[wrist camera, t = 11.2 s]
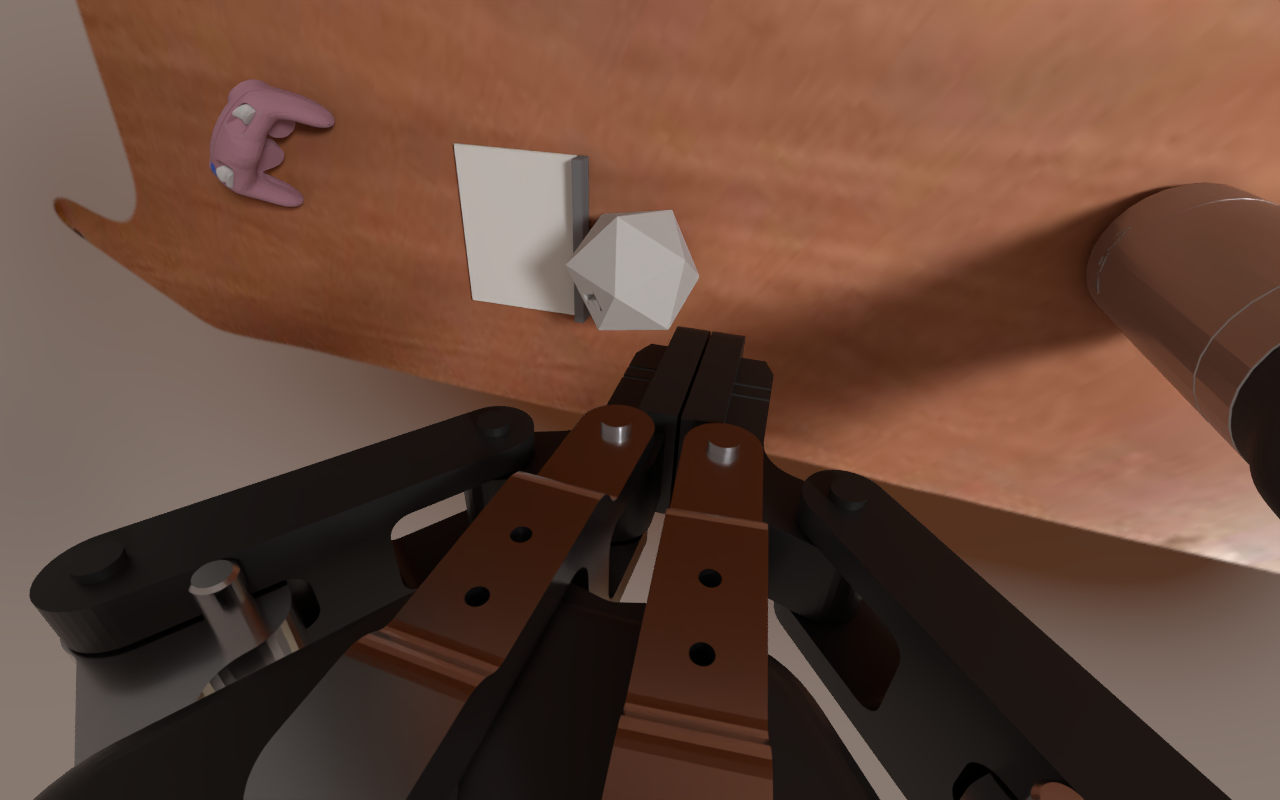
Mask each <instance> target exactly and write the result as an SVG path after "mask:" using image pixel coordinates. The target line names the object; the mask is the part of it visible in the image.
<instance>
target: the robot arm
mask: <svg viewBox="0 0 1280 800" xmlns="http://www.w3.org/2000/svg"><path fill="white" fill-rule="evenodd" d="M1086 281H1087V287H1088V291H1089V293H1090V295H1091V297H1092V299H1093V301H1094V302H1095V304H1096V305H1097V306H1098V307H1099V308H1100V309H1101V310H1102V311H1103V312H1104V313H1105V314H1106V315H1107V316H1108V317H1109V318H1110V319H1111V321H1112V322H1113V323H1114V324H1115V325H1116V326H1117V327H1118V328H1119V329H1120V331H1121V332H1122V333H1123V334H1124V335H1125V336H1126V337H1127V338H1128V339H1129V340H1130V341H1131V342H1132V343H1133V344H1134V345H1135V346H1136V347H1137V348H1138V350H1139V351H1140V352H1141V353H1142V354H1143V355H1144V356H1145V357H1146V358H1147V359H1148V360H1149V361H1150V362H1151V363H1152V364H1153V365H1154V366H1155V367H1156V368H1157V369H1158V370H1159V371H1160V373H1161V374H1162V375H1163V376H1164V377H1165V378H1166V379H1167V380H1168V381H1169V382H1170V383H1171V384H1172V385H1173V386H1174V387H1175V388H1176V389H1177V390H1178V391H1179V392H1180V393H1181V395H1182V396H1183V397H1184V398H1185V399H1186V400H1187V401H1188V402H1189V403H1190V404H1191V405H1192V406H1193V407H1194V408H1195V409H1196V410H1197V411H1198V412H1199V413H1200V414H1201V415H1202V416H1203V418H1204V419H1205V420H1206V421H1207V422H1209V423H1210V424H1211V425H1212V426H1213V428H1214V429H1215V430H1216V431H1217V432H1218V433H1219V434H1220V435H1221V436H1222V437H1223V438H1224V439H1225V440H1226V441H1227V442H1228V443H1229V444H1230V445H1231V446H1232V447H1233V448H1234V449H1235V451H1236V452H1237V453H1238V454H1239V455H1240V456H1241V457H1242V458H1243V459H1244V460H1245V461H1246V462H1247V463H1248V464H1249V465H1250V472H1251V476H1252V479H1253V482H1254V484H1255V486H1256V488H1257V490H1258V492H1259V493H1260V495H1261V496H1262V498H1263V499H1264V501H1265V502H1266V503H1267V504H1268V506H1269V507H1270V508H1271V509H1272V511H1273V512H1274V513H1275V514H1276V515H1277V516H1278V518H1279V519H1280V205H1277V204H1275V203H1272V202H1270V201H1267V200H1265V199H1263V198H1260V197H1258V196H1255V195H1253V194H1250V193H1248V192H1245V191H1243V190H1240V189H1237V188H1234V187H1231V186H1228V185H1225V184H1215V183H1195V184H1185V185H1181V186H1177V187H1173V188H1169V189H1165V190H1163V191H1160V192H1158V193H1156V194H1153V195H1151V196H1149V197H1146V198H1144V199H1143V200H1141V201H1139V202H1138V203H1136V204H1135V205H1133V206H1131V207H1130V208H1128V209H1127V210H1126V211H1124V212H1123V213H1122V214H1121V215H1120V216H1118V217H1117V218H1116V219H1115V220H1114V221H1112V223H1111V224H1110V225H1109V226H1108V227H1107V228H1106V229H1105V231H1104V232H1103V233H1102V234H1101V235H1100V237H1099V239H1098V240H1097V242H1096V244H1095V245H1094V247H1093V249H1092V251H1091V254H1090V257H1089V260H1088V263H1087V271H1086ZM744 344H745V336H740V335H734V334H727V333H721V332H714V331H713V332H712V334H711V332H710V331H707V330H700V329H693V328H687V327H680V326H678V327H677V329H676V331H675V333H674V335H673V337H672V339H671V341H670V343H669V345H668V346H663V345H656V344H650V345H649V346H647V347H645V348H644V349H642V350H640V351H639V352H637V353H636V354H635V356H634V358H633V360H632V361H631V363H630V365H629V367H628V368H627V370H626V372H625V374H624V377H622V379H621V381H620V383H619V384H618V386H617V388H616V390H615V391H614V393H613V395H612V397H611V398H610V400H609V402H608V404H607V405H605V406H600V407H597V408H594V409H592V410H590V411H588V412H587V413H585V414H584V415H583V416H582V417H581V418H580V420H579V421H578V422H577V424H576V425H575V426H574V427H573V429H572V430H568V431H549V432H534V423H533V420H532V418H531V417H530V416H529V415H528V414H527V413H526V412H524V411H522V410H519V409H517V408H513V407H506V406H493V407H486V408H482V409H478V410H475V411H472V412H469V413H466V414H463V415H460V416H457V417H454V418H451V419H448V420H445V421H442V422H439V423H436V424H432V425H429V426H426V427H423V428H420V429H417V430H415V431H411V432H408V433H405V434H402V435H399V436H396V437H393V438H391V439H387V440H384V441H381V442H378V443H375V444H372V445H369V446H366V447H363V448H360V449H357V450H354V451H351V452H348V453H345V454H342V455H339V456H336V457H333V458H330V459H327V460H324V461H321V462H318V463H315V464H312V465H309V466H306V467H303V468H300V469H297V470H294V471H291V472H288V473H285V474H282V475H279V476H276V477H273V478H270V479H267V480H264V481H261V482H258V483H255V484H252V485H249V486H246V487H243V488H240V489H237V490H234V491H231V492H228V493H225V494H222V495H219V496H216V497H212V498H209V499H207V500H203V501H201V502H197V503H194V504H191V505H189V506H185V507H183V508H179V509H176V510H173V511H170V512H167V513H164V514H161V515H158V516H155V517H152V518H149V519H146V520H143V521H140V522H137V523H134V524H131V525H128V526H125V527H122V528H119V529H116V530H113V531H110V532H107V533H104V534H101V535H98V536H96V537H93V538H90V539H88V540H86V541H83V542H81V543H79V544H77V545H75V546H73V547H72V548H70V549H68V550H67V551H65V552H63V553H62V554H60V555H59V556H58V557H56V558H55V559H54V560H52V561H51V562H50V563H49V564H48V565H47V566H45V567H44V568H43V570H42V571H41V572H40V573H39V574H38V575H37V577H36V578H35V580H34V581H33V583H32V586H31V588H30V599H31V602H32V603H33V604H34V605H35V607H36V608H37V609H38V611H39V612H40V613H41V614H42V616H43V617H44V618H45V619H46V621H47V622H48V623H49V624H50V626H51V627H52V628H53V630H54V631H55V632H56V633H57V635H58V636H59V637H60V642H61V645H62V647H63V649H64V650H65V651H66V652H67V654H68V655H69V656H70V657H71V659H72V660H73V661H74V663H75V664H76V666H77V667H76V717H75V721H76V722H75V767H74V768H72V769H70V770H69V771H68V772H66V773H65V774H64V775H63V776H61V777H60V778H59V779H57V780H56V781H55V782H53V783H52V784H51V785H49V786H48V787H47V788H46V789H45V790H44V791H42V792H41V793H40V794H39V795H38V796H37V797H36V798H35V799H34V800H880V799H879V797H878V796H877V794H876V793H875V791H874V789H873V788H872V786H871V785H870V783H869V782H868V780H867V779H866V777H865V776H864V774H863V772H862V771H861V770H860V768H859V766H858V765H857V763H856V762H855V760H854V759H853V757H852V755H851V754H850V752H849V751H848V749H847V748H846V746H845V745H844V743H843V742H842V740H841V739H840V737H839V735H838V734H837V732H836V731H835V729H834V728H833V726H832V725H831V723H830V722H829V720H828V718H827V717H826V715H825V714H824V712H823V711H822V709H821V708H820V706H819V705H818V704H817V702H816V701H815V699H814V698H813V696H812V695H811V694H810V693H809V692H808V691H807V689H806V688H805V687H804V686H803V684H802V683H801V682H800V681H799V680H798V679H797V678H796V677H795V676H794V675H793V674H792V673H791V672H790V671H789V670H788V669H787V668H786V667H785V666H783V665H782V664H781V663H780V662H778V661H777V660H776V659H775V658H773V657H772V656H770V655H769V654H768V598H769V599H771V600H773V601H774V609H775V614H776V616H777V618H778V620H779V622H780V623H781V625H782V626H783V628H784V629H785V630H786V632H787V633H788V635H789V636H790V637H791V639H792V640H793V641H794V643H795V644H796V646H797V647H798V649H799V650H800V651H801V653H802V654H803V655H804V657H805V658H806V660H807V661H808V662H809V664H810V665H811V667H812V668H813V669H814V671H815V672H816V674H817V675H818V676H819V678H820V679H821V680H822V682H823V683H824V685H825V686H826V687H827V689H828V690H829V692H830V693H831V694H832V696H833V697H834V699H835V700H836V701H837V703H838V704H839V705H840V707H841V708H842V710H843V711H844V712H845V714H846V715H847V717H848V718H849V719H850V721H851V722H852V724H853V725H854V726H855V728H856V729H857V731H858V732H859V733H860V735H861V736H862V737H863V739H864V740H865V742H866V743H867V744H868V746H869V747H870V749H871V750H872V751H873V753H874V754H875V756H876V757H877V758H878V760H879V761H880V762H881V764H882V765H883V767H884V768H885V769H886V771H887V772H888V773H889V775H890V776H891V778H892V779H893V781H894V782H895V783H896V785H897V786H898V788H899V789H900V790H901V792H902V793H903V795H904V796H905V797H906V799H907V800H1231V799H1230V798H1229V797H1228V796H1227V795H1226V794H1225V793H1224V792H1222V791H1221V790H1220V789H1219V788H1218V787H1217V786H1216V785H1215V784H1213V783H1212V782H1211V781H1210V780H1209V779H1208V778H1207V777H1206V776H1204V775H1203V774H1202V773H1201V772H1200V771H1199V770H1198V769H1197V768H1195V767H1194V766H1193V765H1192V764H1191V763H1190V762H1189V761H1188V760H1186V759H1185V758H1184V757H1183V756H1182V755H1181V754H1180V753H1179V752H1177V751H1176V750H1175V749H1174V748H1173V747H1172V746H1171V745H1169V743H1167V742H1166V741H1165V740H1164V739H1163V738H1162V737H1161V736H1160V735H1158V734H1157V733H1156V732H1155V731H1154V730H1153V729H1152V728H1151V727H1149V726H1148V725H1147V724H1146V723H1145V722H1144V721H1142V720H1141V719H1140V718H1139V717H1138V716H1137V715H1136V714H1135V713H1134V712H1133V711H1131V710H1130V709H1129V708H1128V707H1127V706H1126V705H1125V704H1123V703H1122V702H1121V701H1120V700H1119V699H1118V698H1117V697H1116V696H1115V695H1113V694H1112V693H1111V692H1110V691H1109V690H1108V689H1107V688H1106V687H1104V686H1103V685H1102V684H1101V683H1100V682H1099V681H1098V680H1097V679H1095V678H1094V677H1093V676H1092V675H1091V674H1090V673H1089V672H1088V671H1086V670H1085V669H1084V668H1083V667H1082V666H1081V665H1080V664H1079V663H1077V662H1076V661H1075V660H1074V659H1073V658H1072V657H1071V656H1069V655H1068V654H1067V653H1066V652H1065V651H1064V650H1063V649H1062V648H1060V647H1059V646H1058V645H1057V644H1056V643H1055V642H1054V641H1053V640H1052V639H1051V638H1049V637H1048V636H1047V635H1046V634H1045V633H1044V632H1043V631H1042V630H1040V629H1039V628H1038V627H1037V626H1036V625H1035V624H1034V623H1032V622H1031V621H1030V620H1029V619H1028V618H1027V617H1026V616H1025V615H1024V614H1022V613H1021V612H1020V611H1019V610H1018V609H1017V608H1016V607H1015V606H1013V605H1012V604H1011V603H1010V602H1009V601H1008V600H1007V599H1006V598H1004V597H1003V596H1002V595H1001V594H1000V593H999V592H998V591H996V590H995V589H994V588H993V587H992V586H991V585H990V584H989V583H987V582H986V581H985V580H984V579H983V578H982V577H981V576H980V575H979V574H977V573H976V572H975V571H974V570H973V569H972V568H971V567H970V566H968V565H967V564H966V563H965V562H964V561H963V560H962V559H960V557H958V556H957V555H956V554H955V553H954V552H953V551H952V550H950V549H949V548H948V547H947V546H946V545H945V544H944V543H943V542H941V541H940V540H939V539H938V538H937V537H936V536H935V535H934V534H933V533H931V532H930V531H929V530H928V529H927V528H926V527H925V526H923V525H922V524H921V523H920V522H919V521H918V520H917V519H916V518H914V517H913V516H912V515H911V514H910V513H909V512H908V511H907V510H905V509H904V508H903V507H902V506H901V505H900V504H899V503H898V502H897V501H895V500H894V499H893V498H892V497H891V496H890V495H889V494H887V493H886V492H885V491H884V490H883V489H882V488H881V487H879V486H878V485H877V484H876V483H874V482H873V481H871V480H869V479H867V478H865V477H863V476H861V475H858V474H855V473H852V472H848V471H842V470H824V471H820V472H817V473H814V474H812V475H811V476H809V477H808V478H807V479H806V480H805V481H803V480H801V479H799V478H796V477H794V476H791V475H790V474H787V473H786V472H784V471H782V470H781V469H779V468H778V467H777V466H775V465H774V464H773V463H772V462H771V461H770V459H769V458H768V457H767V455H766V453H765V451H764V436H765V429H766V422H767V416H768V409H769V401H770V395H771V388H772V381H773V373H772V372H771V370H770V368H769V367H768V365H767V364H766V362H764V361H758V360H752V359H745V358H742V357H743V351H744ZM462 492H464V494H465V500H466V506H467V510H465V511H463V512H461V513H458V514H456V515H453V516H451V517H449V518H446V519H444V520H442V521H439V522H437V523H434V524H432V525H430V526H427V527H425V528H423V529H420V530H418V531H416V532H413V533H411V534H409V535H406V536H404V537H401V538H399V539H396V540H391V532H392V529H393V527H394V526H395V524H396V523H397V522H398V521H399V520H400V519H401V518H403V517H404V516H406V515H408V514H410V513H412V512H414V511H417V510H420V509H422V508H425V507H427V506H430V505H432V504H435V503H437V502H439V501H442V500H444V499H447V498H449V497H452V496H454V495H457V494H459V493H462ZM655 512H658V513H663V514H665V518H664V522H663V528H662V532H661V537H660V542H659V546H658V551H657V556H656V560H655V565H654V570H653V574H652V579H651V584H650V589H649V593H648V598H647V603H623V602H622V603H621V602H620V600H621V598H622V595H623V593H624V591H625V589H626V586H627V584H628V582H629V580H630V578H631V576H632V573H633V571H634V569H635V567H636V565H637V562H638V560H639V558H640V556H641V554H642V551H643V549H644V547H645V545H646V542H647V534H648V528H649V526H650V524H651V522H652V519H653V516H654V513H655Z"/></svg>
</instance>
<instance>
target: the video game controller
mask: <svg viewBox="0 0 1280 800" xmlns="http://www.w3.org/2000/svg"><path fill="white" fill-rule="evenodd" d="M295 122H299V123H302V124H306V125H309V126H313V127H317V128H327V127H331V126H333V125H334V123H335V119H334V117H333V115H332V114H331V113H330V112H329V111H328V110H327V109H326V108H324V107H323V106H321V105H320V104H318V103H316V102H315V101H313V100H311V99H309V98H306V97H304V96H302V95H299V94H296V93H293V92H290V91H286V90H282V89H279V88H275V87H271V86H269V85H268V84H266V83H265V82H263V81H260V80H246V81H243V82H241V83H240V84H238V85H237V86H236V87H234V88H233V89H232V90H231V92H230V93H229V96H228V104H227V105H226V106H225V108H224V109H223V111H222V112H221V114H220V116H219V118H218V120H217V122H216V124H215V127H214V130H213V133H212V138H211V143H210V161H209V167H210V170H211V171H212V173H213V174H214V175H215V176H216V177H217V178H218V179H219V181H220V182H221V183H222V184H223V185H224V186H226V187H227V188H229V189H230V190H232V191H234V192H235V193H238V194H240V195H244V196H247V197H251V198H255V199H259V200H263V201H266V202H270V203H273V204H277V205H281V206H285V207H296V206H299V205H301V204H302V203H303V202H304V199H303V196H302V194H301V193H300V192H299V191H298V190H297V189H295V188H294V187H292V186H291V185H289V184H288V183H286V182H284V181H282V180H280V179H277V178H275V177H273V176H270V175H268V174H265V173H263V171H266V170H268V169H271V168H274V167H276V166H278V165H279V164H281V162H282V161H283V159H284V152H283V150H282V149H281V148H280V147H279V145H278V144H277V143H276V142H275V141H274V140H273V139H271V138H267V134H269V135H270V136H272V137H274V138H283V137H286V136H288V135H289V134H290V133H291V132H292V131H293V130H294V128H295V124H296V123H295Z"/></svg>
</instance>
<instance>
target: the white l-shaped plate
mask: <svg viewBox="0 0 1280 800" xmlns="http://www.w3.org/2000/svg"><path fill="white" fill-rule="evenodd" d="M454 150H455V158H456V167H457V175H458V183H459V191H460V200H461V208H462V216H463V224H464V233H465V241H466V249H467V257H468V265H469V274H470V282H471V290H472V298H473V300H478V301H485V302H492V303H498V304H505V305H511V306H518V307H524V308H531V309H538V310H544V311H551V312H557V313H564V314H570V315H575V322H580V323H584V322H585V321H586V319H587V318H588V317H589V310H588V308H587V306H586V304H585V302H584V300H583V298H582V296H581V294H580V292H579V290H578V289H577V287H576V285H575V283H574V281H573V279H572V277H571V275H570V273H569V271H568V269H567V267H566V263H567V262H568V261H569V259H570V258H571V256H572V255H573V254H574V252H575V251H576V249H577V248H578V247H579V245H580V244H581V242H582V241H583V240H584V238H585V237H586V236H587V234H588V233H589V175H588V156H580V155H578V156H577V155H570V154H560V153H549V152H539V151H529V150H519V149H509V148H498V147H488V146H478V145H468V144H458V143H455V144H454Z"/></svg>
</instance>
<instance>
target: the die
mask: <svg viewBox="0 0 1280 800" xmlns="http://www.w3.org/2000/svg"><path fill="white" fill-rule="evenodd" d="M566 267H567V269H568V271H569V273H570V275H571V277H572V279H573V281H574V283H575V285H576V287H577V289H578V290H579V292H580V294H581V296H582V298H583V300H584V302H585V304H586V306H587V308H588V310H589V312H590V314H591V316H592V318H593V320H594V322H595V324H596V326H597V328H598V330H669V328H670V326H671V324H672V323H673V321H674V319H675V318H676V316H677V314H678V313H679V311H680V309H681V307H682V306H683V304H684V302H685V301H686V299H687V297H688V296H689V294H690V292H691V290H692V289H693V287H694V285H695V284H696V282H697V280H698V279H699V274H698V272H697V269H696V267H695V264H694V262H693V260H692V257H691V255H690V252H689V250H688V247H687V245H686V243H685V240H684V238H683V235H682V233H681V230H680V228H679V226H678V223H677V221H676V218H675V216H674V213H673V211H672V210H659V211H643V212H627V213H610V214H602V215H601V216H600V217H599V219H598V220H597V222H596V223H595V224H594V226H593V227H592V229H591V230H590V231H589V233H588V234H587V236H586V237H585V238H584V240H583V241H582V242H581V244H580V245H579V247H578V248H577V249H576V251H575V252H574V254H573V255H572V256H571V258H570V259H569V261H568V262H567V263H566Z"/></svg>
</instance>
